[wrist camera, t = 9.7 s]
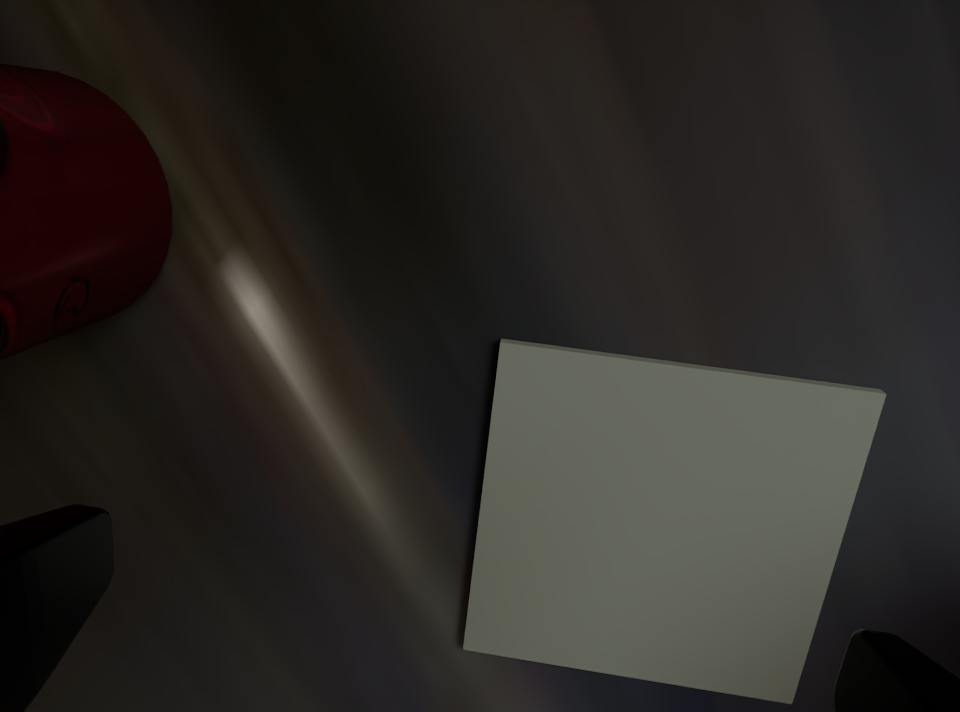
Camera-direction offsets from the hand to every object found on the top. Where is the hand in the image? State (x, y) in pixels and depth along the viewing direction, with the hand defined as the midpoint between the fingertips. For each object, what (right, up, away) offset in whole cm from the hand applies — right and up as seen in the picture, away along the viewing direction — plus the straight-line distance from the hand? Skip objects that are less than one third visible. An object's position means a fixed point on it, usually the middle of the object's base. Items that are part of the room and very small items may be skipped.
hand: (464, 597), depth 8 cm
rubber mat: (+6, -2, +14) cm, 15 cm away
